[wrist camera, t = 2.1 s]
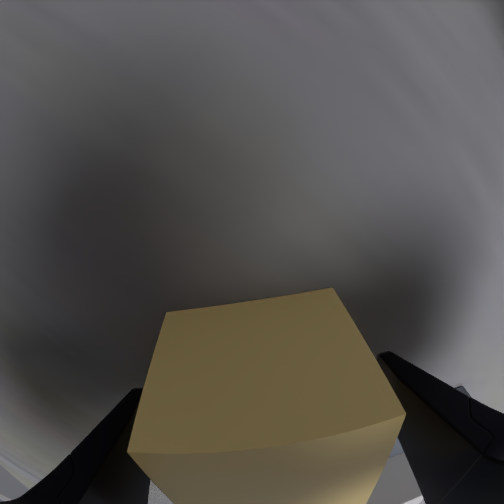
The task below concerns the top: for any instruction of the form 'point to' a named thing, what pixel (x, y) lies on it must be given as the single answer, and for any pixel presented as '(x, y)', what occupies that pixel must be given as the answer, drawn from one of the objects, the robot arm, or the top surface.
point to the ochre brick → (265, 405)
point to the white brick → (396, 484)
